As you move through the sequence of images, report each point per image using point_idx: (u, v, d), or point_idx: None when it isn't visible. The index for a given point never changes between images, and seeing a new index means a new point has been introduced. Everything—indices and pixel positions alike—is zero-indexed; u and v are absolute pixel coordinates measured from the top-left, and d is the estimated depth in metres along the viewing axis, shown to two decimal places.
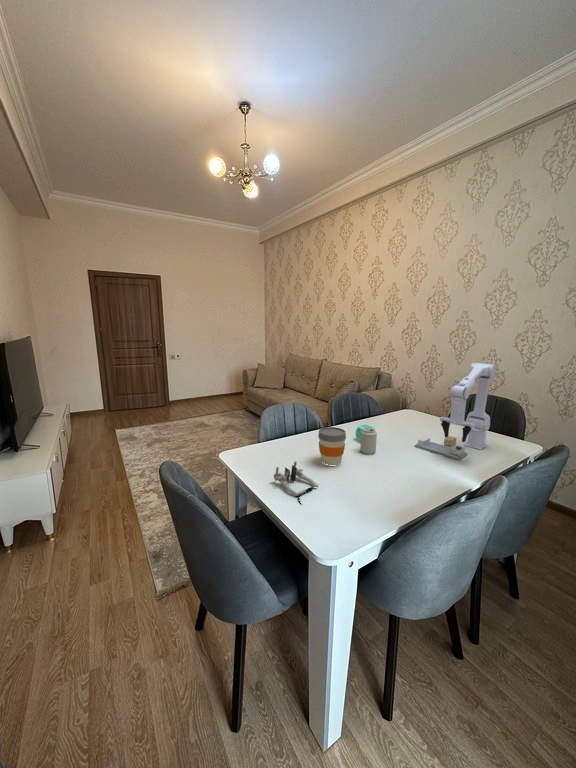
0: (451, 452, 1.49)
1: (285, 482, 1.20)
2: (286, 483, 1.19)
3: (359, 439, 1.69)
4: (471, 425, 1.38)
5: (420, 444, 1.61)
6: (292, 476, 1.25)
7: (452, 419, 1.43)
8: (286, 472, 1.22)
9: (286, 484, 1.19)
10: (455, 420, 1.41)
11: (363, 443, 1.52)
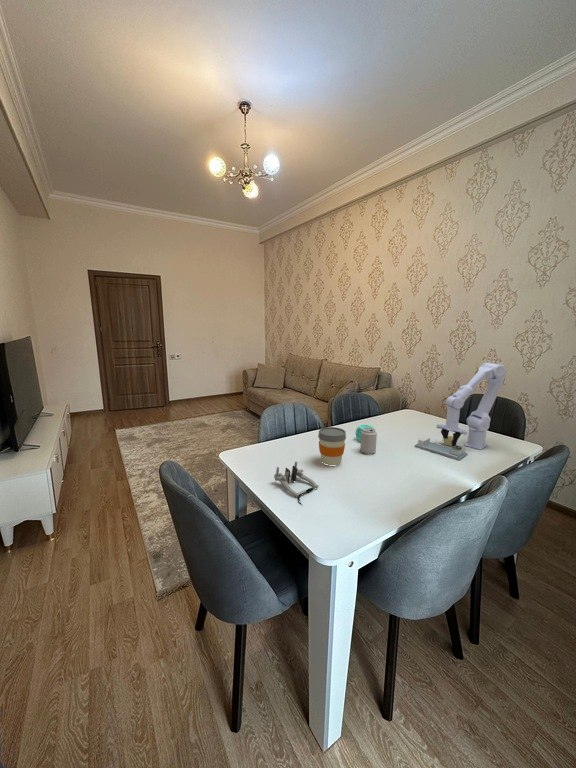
0: (451, 452, 1.49)
1: (285, 482, 1.20)
2: (286, 483, 1.19)
3: (359, 439, 1.69)
4: (464, 432, 1.54)
5: (420, 444, 1.61)
6: (293, 476, 1.25)
7: (447, 426, 1.59)
8: (286, 472, 1.22)
9: (286, 484, 1.18)
10: (450, 427, 1.58)
11: (363, 443, 1.52)
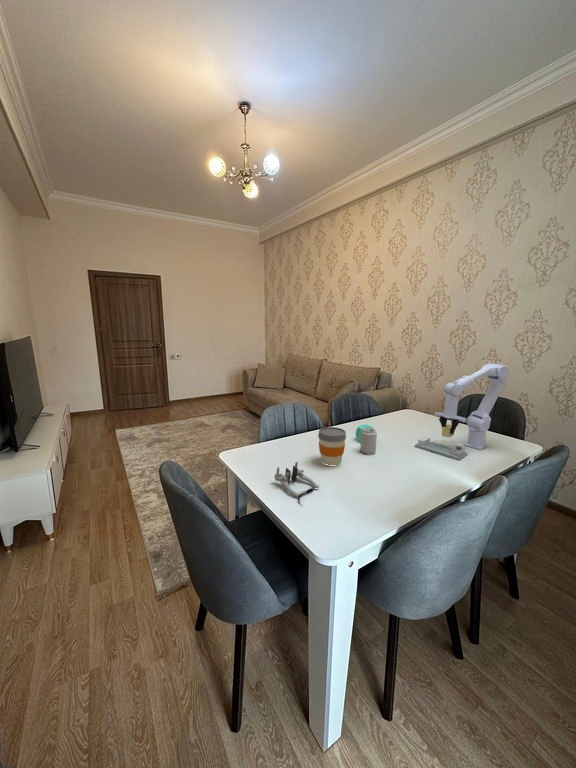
0: (451, 452, 1.49)
1: (286, 483, 1.19)
2: (287, 484, 1.19)
3: (359, 439, 1.69)
4: (463, 419, 1.52)
5: (420, 444, 1.61)
6: (293, 477, 1.24)
7: (445, 414, 1.56)
8: (287, 473, 1.21)
9: (287, 485, 1.18)
10: (448, 415, 1.55)
11: (363, 443, 1.52)
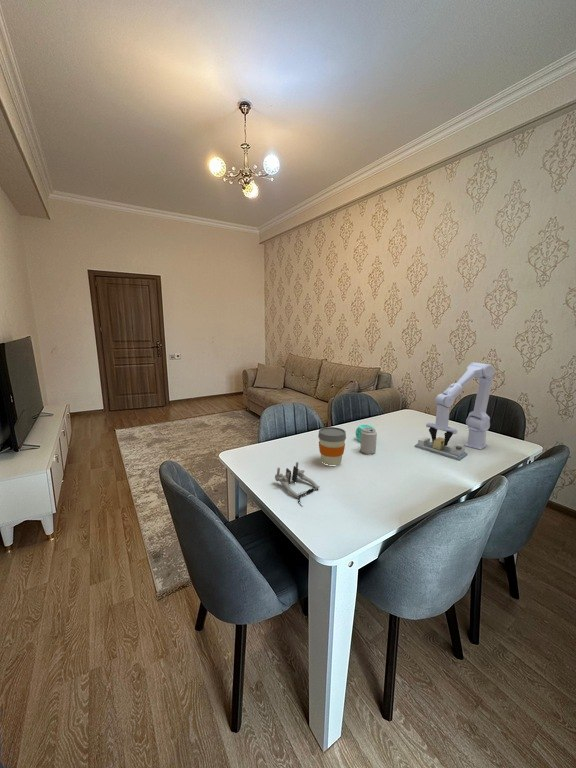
0: (451, 452, 1.49)
1: (286, 483, 1.19)
2: (287, 484, 1.19)
3: (359, 439, 1.69)
4: (454, 431, 1.49)
5: (420, 444, 1.61)
6: (293, 477, 1.24)
7: (437, 425, 1.54)
8: (287, 473, 1.21)
9: (287, 485, 1.18)
10: (439, 426, 1.52)
11: (363, 443, 1.52)
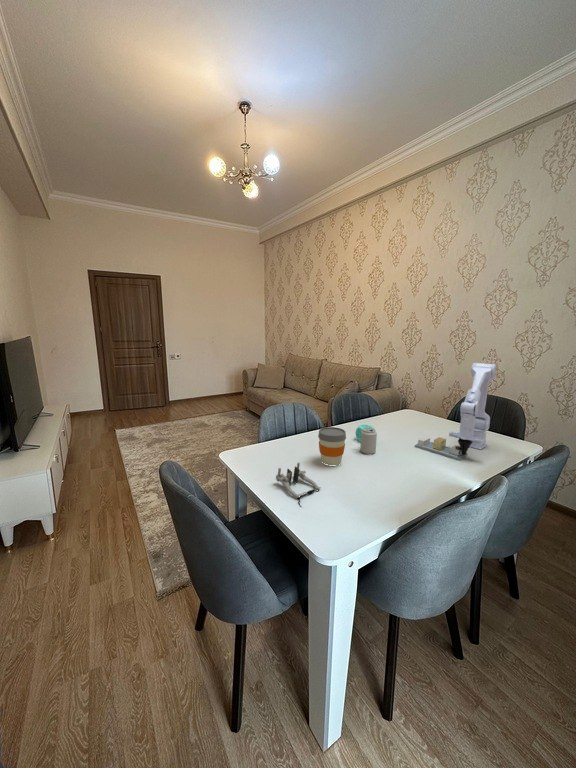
0: (451, 452, 1.49)
1: (287, 483, 1.19)
2: (288, 484, 1.18)
3: (359, 439, 1.69)
4: (480, 441, 1.41)
5: (420, 444, 1.61)
6: (294, 477, 1.24)
7: (461, 435, 1.45)
8: (288, 473, 1.21)
9: (287, 485, 1.18)
10: (464, 436, 1.44)
11: (363, 443, 1.52)
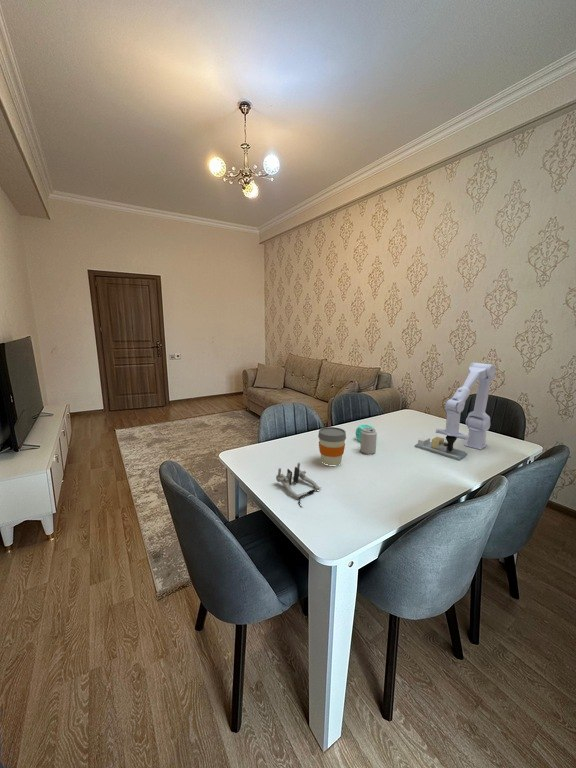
0: (439, 448, 1.53)
1: (287, 484, 1.19)
2: (288, 485, 1.18)
3: (359, 439, 1.69)
4: (465, 437, 1.46)
5: (420, 444, 1.61)
6: (295, 478, 1.24)
7: (447, 431, 1.50)
8: (288, 473, 1.21)
9: (288, 486, 1.18)
10: (450, 432, 1.49)
11: (363, 443, 1.52)
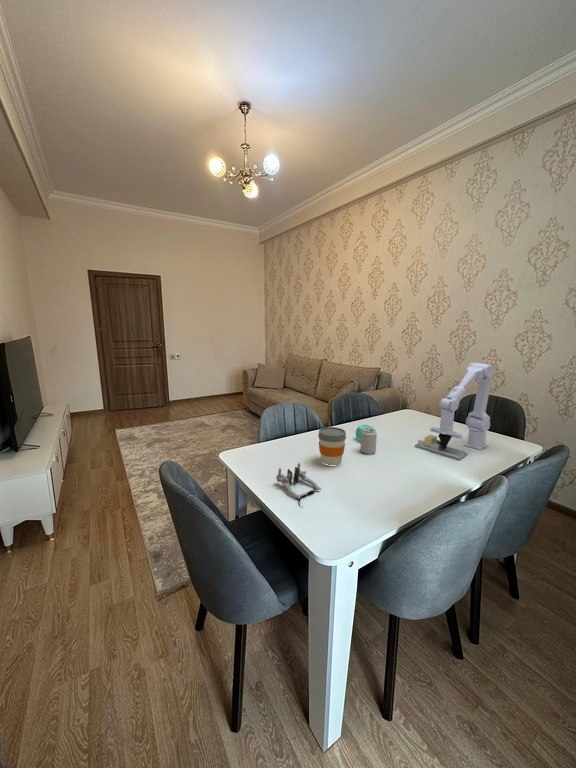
0: (432, 446, 1.56)
1: (287, 484, 1.19)
2: (288, 485, 1.18)
3: (359, 439, 1.69)
4: (459, 436, 1.48)
5: (420, 444, 1.61)
6: (295, 478, 1.23)
7: (441, 430, 1.52)
8: (288, 474, 1.21)
9: (288, 486, 1.17)
10: (444, 431, 1.51)
11: (363, 443, 1.52)
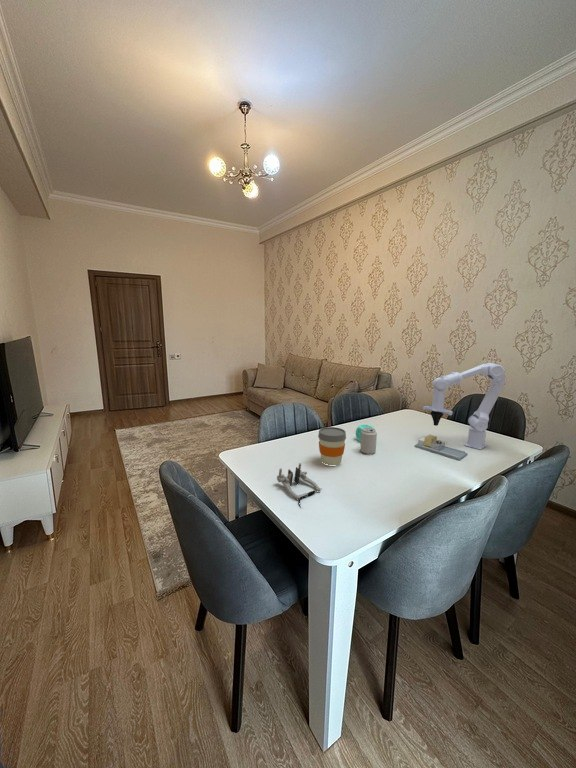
0: (432, 446, 1.56)
1: (287, 484, 1.18)
2: (288, 485, 1.18)
3: (359, 439, 1.69)
4: (449, 412, 1.59)
5: (420, 444, 1.61)
6: (296, 478, 1.23)
7: (433, 407, 1.63)
8: (289, 474, 1.20)
9: (288, 486, 1.17)
10: (436, 408, 1.62)
11: (363, 443, 1.52)
